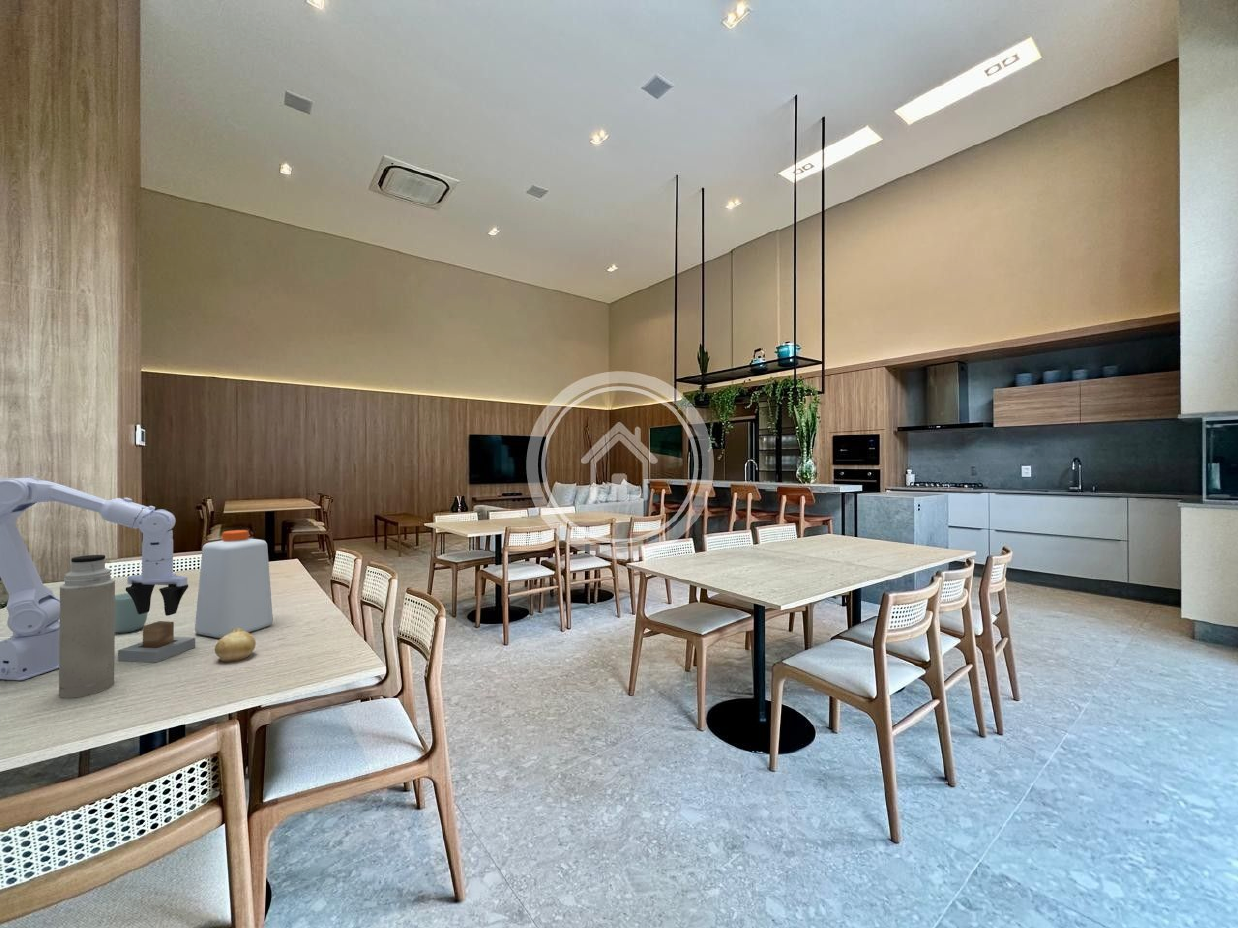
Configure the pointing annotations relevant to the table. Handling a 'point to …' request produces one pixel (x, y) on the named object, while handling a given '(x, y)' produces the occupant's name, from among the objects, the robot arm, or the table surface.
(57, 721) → the table surface
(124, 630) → the cup
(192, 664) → the table surface
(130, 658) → the grey flat square frame
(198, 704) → the table surface
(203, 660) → the table surface
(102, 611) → the thermos bottle
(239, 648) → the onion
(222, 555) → the plastic bottle
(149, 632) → the wooden rectangular block
